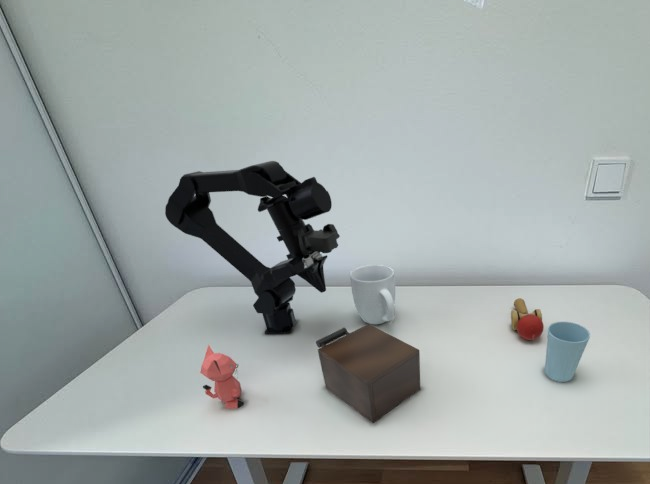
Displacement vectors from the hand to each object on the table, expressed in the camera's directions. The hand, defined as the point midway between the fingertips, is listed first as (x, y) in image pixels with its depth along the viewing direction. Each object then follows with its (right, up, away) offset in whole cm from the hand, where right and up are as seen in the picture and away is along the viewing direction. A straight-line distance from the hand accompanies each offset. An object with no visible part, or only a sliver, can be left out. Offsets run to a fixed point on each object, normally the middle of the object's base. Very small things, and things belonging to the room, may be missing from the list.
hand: (323, 291), depth 85 cm
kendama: (+48, -7, +9) cm, 50 cm away
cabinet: (+13, -21, -10) cm, 27 cm away
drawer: (+10, -19, -9) cm, 23 cm away
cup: (+51, -18, -8) cm, 55 cm away
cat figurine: (-15, -24, -13) cm, 31 cm away
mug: (+11, -6, +12) cm, 18 cm away
